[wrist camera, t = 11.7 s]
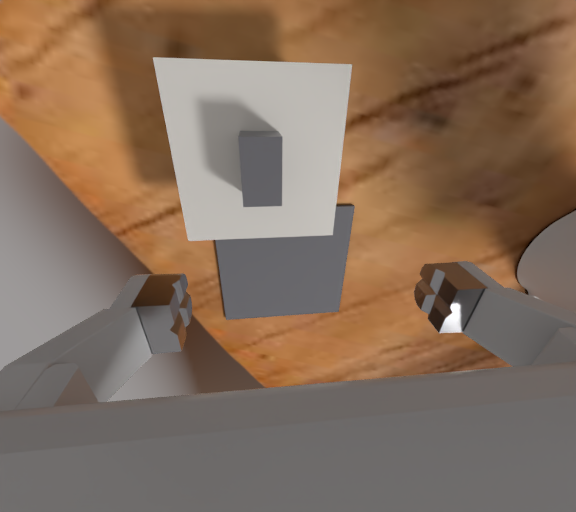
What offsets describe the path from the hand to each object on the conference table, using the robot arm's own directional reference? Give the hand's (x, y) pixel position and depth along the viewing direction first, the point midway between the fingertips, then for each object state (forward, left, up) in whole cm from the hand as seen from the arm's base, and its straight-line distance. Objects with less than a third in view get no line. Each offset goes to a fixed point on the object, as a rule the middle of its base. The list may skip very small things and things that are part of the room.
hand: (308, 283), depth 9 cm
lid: (+1, -1, -17) cm, 17 cm away
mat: (-2, +14, -23) cm, 27 cm away
